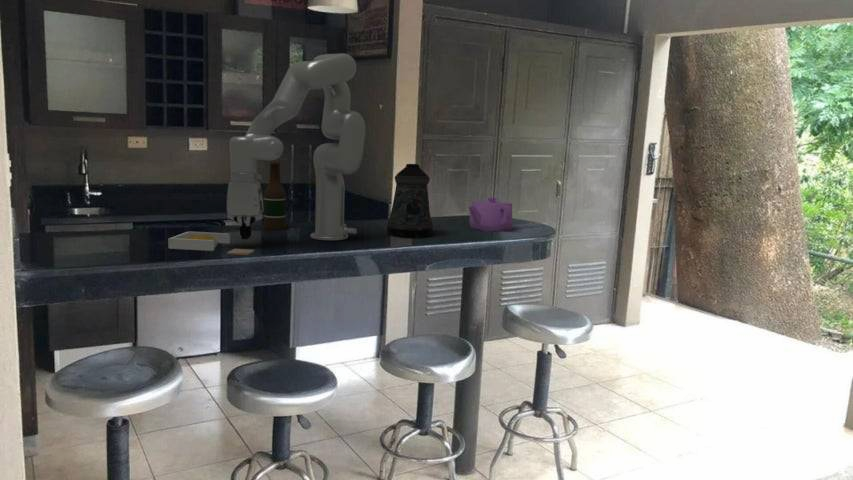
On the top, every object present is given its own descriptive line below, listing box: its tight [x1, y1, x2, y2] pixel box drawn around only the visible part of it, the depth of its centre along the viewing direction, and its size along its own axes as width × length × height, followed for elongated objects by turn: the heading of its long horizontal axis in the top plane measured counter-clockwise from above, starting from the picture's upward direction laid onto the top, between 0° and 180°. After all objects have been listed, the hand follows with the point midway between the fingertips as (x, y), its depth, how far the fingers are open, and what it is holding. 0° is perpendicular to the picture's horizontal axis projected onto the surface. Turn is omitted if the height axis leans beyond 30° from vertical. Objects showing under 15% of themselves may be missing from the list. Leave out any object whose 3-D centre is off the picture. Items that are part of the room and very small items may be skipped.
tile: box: [226, 248, 255, 256], centre depth 204 cm, size 6×6×1 cm
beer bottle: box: [263, 160, 287, 231], centre depth 250 cm, size 8×8×24 cm
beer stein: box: [386, 163, 434, 239], centre depth 249 cm, size 16×19×25 cm
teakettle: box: [468, 196, 513, 233], centre depth 272 cm, size 17×17×12 cm
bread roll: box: [187, 235, 218, 249], centre depth 211 cm, size 8×9×4 cm
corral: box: [167, 231, 231, 252], centre depth 213 cm, size 14×14×3 cm
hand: (245, 238), depth 213 cm, fingers closed
